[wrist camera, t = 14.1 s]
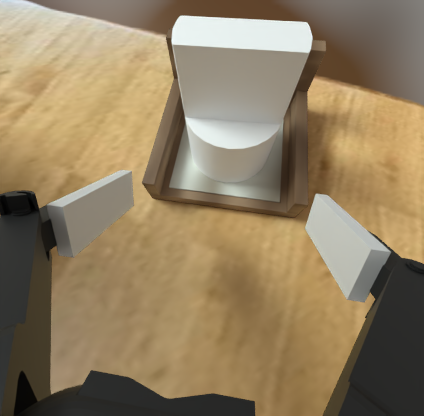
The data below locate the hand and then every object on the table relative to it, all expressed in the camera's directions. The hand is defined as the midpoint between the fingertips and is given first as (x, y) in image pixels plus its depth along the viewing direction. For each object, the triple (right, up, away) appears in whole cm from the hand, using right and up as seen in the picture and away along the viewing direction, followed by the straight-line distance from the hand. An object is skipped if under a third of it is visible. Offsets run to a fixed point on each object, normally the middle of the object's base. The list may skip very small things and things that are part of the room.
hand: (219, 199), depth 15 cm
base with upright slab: (+2, +6, +10) cm, 12 cm away
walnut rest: (+2, +7, +11) cm, 13 cm away
